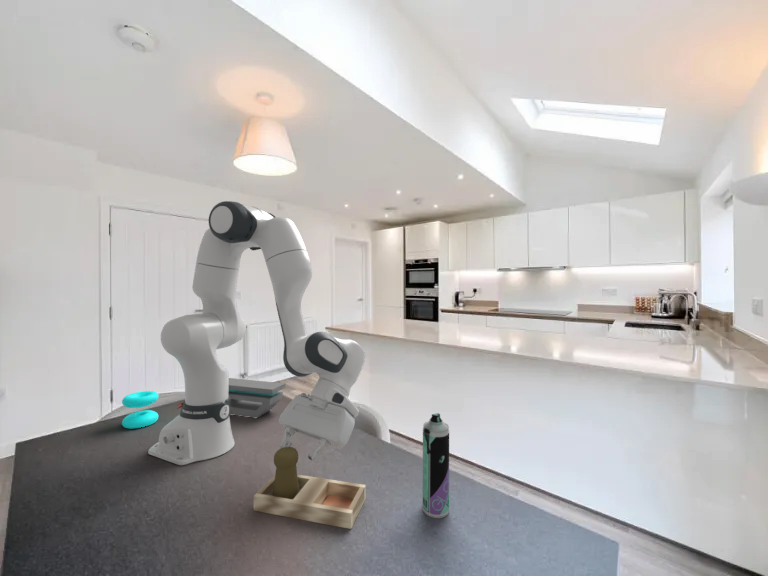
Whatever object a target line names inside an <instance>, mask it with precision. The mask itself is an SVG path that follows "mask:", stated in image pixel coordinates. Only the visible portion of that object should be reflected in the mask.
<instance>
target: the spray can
mask: <svg viewBox="0 0 768 576" xmlns="http://www.w3.org/2000/svg"><path fill="white" fill-rule="evenodd" d="M449 428H450V426H449V424H448V423H446V422H444V421H443V419H442V418H441V414H440V413H439V412H438V413H433V414H431V416H430V418H429V420H428V421H426V422H424V423H423V428H422V512H423V513H424V514H425V515H427V516H428V517H430V518H434V519H441V518H445V517H447V515H448V514H449V512H450V429H449Z"/></svg>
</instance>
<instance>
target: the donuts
mask: <svg viewBox="0 0 768 576" xmlns="http://www.w3.org/2000/svg"><path fill="white" fill-rule="evenodd" d="M159 398H160V397H159V393H158V392H157V391H153V390H142V391H137V392H133V393H130V394H127V395H126V396H124V397H123V398H122V400H121V404H122V405H123V406H124V407H125V408H128V409H129V408H130V409H137V408H144V407H147V406H150V405H153V404H154V403H156V402H157V401H158V399H159ZM158 419H159V414H158V412H156V411H155V410H150V409H147V410H146V409H145V410H138V411H134V412H132V413H130V414H127V416H125V417H123V419H122V422H121V425H122V426H123V428H125V429H130V430H131V429H141V427H142V428H146V427H149V426H151V425H153V424H154V423H156V422H157V421H158ZM145 426H146V427H145Z"/></svg>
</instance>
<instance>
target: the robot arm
mask: <svg viewBox="0 0 768 576" xmlns="http://www.w3.org/2000/svg"><path fill="white" fill-rule="evenodd" d="M208 227H209V228H208V229H207V230H205V231H204V234H203V236H202V239H201V241H200V244H199V248H198V253H197V256H196V262H195V269H194V274H193V279H192V280H193V281H192V292H193V293H194V294H195V296H197V297H198V298H199V299H200V300H201V302H202V312H201V313H194V314H192V313H191V314H186V315H182V316H179V317H176V318H174V319H171V320H169V321H167V322H166V323H165V324H164V326H163V327H162V329H161V333H160V342H161V346H162V347H163V349H164V350H165V352H166V353H167V354H168V355H170V356H172V357H173V358H175V359H176V360H177V361H178V363H179V365H180V367H181V369H182V373H183V377H184V397H185V398H184V399H185V400H184V401H183V402H180V403H178V404H176V406H177V407H176V409H177V410H178V409H180V412H179V414H178V415H176V416H175V417H174V419H172V420H171V421H170V422H168V423H167V424H165V425H164V427H162V428H161V430H160V432H159V436H158V442H156V443H155V444H153V445H152V446H151V447H149V449H148V452H147V454H148V455H150V456H153V457H156V458H159V459H161V460H164V461H166V462H170V463H173V464H175V465H177V466H185V465H188V464H192V463H195V462H199V461H205V460H209V459H214V458H216V457H219V456H221V455H224V454H225V453H227V452H229V451H231V450H232V449H233V447H234V446H235V443H236V442H235V440H234V436H233V431H232V425H231V419H230V415H229V413H230V396H229V378H230V377H229V375H230V373H229V370H228V368H227V367H226V366H224V365H223V364H221V363H220V362H219V360H218V357H217V352H216V351H217V350H219V349H220V350H221V349H225V348H228V347H231V346H232V345H234V344H236V343H238V342H240V341H241V340H242V339H244V337H245V334H246V332H247V324H246V321H245V318H244V317H243V316H242V315H241V314H240V312H239V309H238V306H237V294H236V293H237V287H238V285H237V284H238V280H239V279H238V278H239V271H240V267H241V266H240V265H241V258H242V255H243V253H244V252H245V251H246V250H248V249H250V250H251V251H257V250H261V252H262V255H263V257H264V262H265V264H266V268H267V270H268V275H269V279H270V281H271V286H272V289H273V290H272V291H273V294H274V300H275V305H276V311H277V314H278V320H279V323H280V329H281V332H282V337H283V353H282V354H283V355H282V357H283V358H282V359H283V364H284V367H285V369H286V370H287V371H288V372H289V373H290V374H292V376H296V377H298V378H299V377H300V378H303V377H307V376H310V375H312V374H313V373H315V374H317V375H318V376H319V378H318V379H317V381H316V383H315V385H314V386H313V388H312V390H311V392H310V393H309V394H307V393H305V392H301V393H300V394H298V395H296V396H294V398H292V400H290V401H289V403H288V404H287V406H286V407H285V408H284V409H283V411H282V412H281V414H280V416H279V418H278V423H279V424H280V425H281V426H282V427H284V428H285V429H284V431H283V437H282V439H283V440H282V441H281V442H280V445H279V447H280V449H281V448H284V447H291V446H292V442H291V440H292V439H291V438H292V436H294V435H295V433H299V434H302V435H304V436H306V437H310V438H313V439H314V440H318V441H319V446H317V448H315V450H313V449H311V451H310V453H309V455H308V459H309V460H310V461H312V462H314V463H318V461H319V459H320V457H321V456H322V455H323V454H324V453H325V452H326V451H328V450H329V449H330V447H331V445H333V446H335V447H338V448H343V447H344V446H346V444H347V443H348V442H349V439H350V437H351V435H352V433H353V430H354V427H355V424H356V422H355V421H356V420H355V419H356V418H357V417H358V416H359V413H360V410H359V409H358V408H357V406H356V405H355V404H354V402H353V401H351V400H350V398H349V396H350V393H351V389H352V387H353V386H354V385H355V384H356V382H357V381H358V379H359V376H360V375H361V372H362V370H363V367H364V365H365V360H366V351H365V350H364V348H363V347H362V345H360V344H359V343H358V342H357V341H355V340H353V339H350V338H349V339H348V338H347V339H343V338H342V339H341V338H338V337H335V336H333V335H332V334H330V333H328V332H326V331H317V332H314V333H313V332H312V333H311V334H309V335H308V333H307V330H306V326H305V321H304V316H303V312H302V299H303V296H304V294H305V291H306V290H307V288H308V285H309V284H310V282H311V280H312V276H313V271H312V270H313V269H312V263H311V259H310V255H309V252H308V250H307V247H306V244H305V241H304V240H303V237H302V235H301V233H300V231H299V229H298V228H297V226H296V224H295V223H294V221H293V220H291V219H290V218H289V217H288V218H287V217H284V216H275V215H274V214H273V213H270V212H266V211H265V210H263V209H261V208H258V207H256V206H250V205H247V204H241V203H240V202H237V201H232V200H231V201H230V200H229V201H227V200H225V201H221V202H218V203H216V204H215V205H214V206H213V207H212V209H211V210H210V212H209V215H208Z"/></svg>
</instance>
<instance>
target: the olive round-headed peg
mask: <svg viewBox="0 0 768 576" xmlns="http://www.w3.org/2000/svg"><path fill="white" fill-rule="evenodd" d="M298 462H299V452H298V450H297V449H296V447H291V446H290V447H284V448H281V447H280V448H279V449H278V450H276V451H275V453H274V455H273V463H274V466H275V468H276V469H275V474H274V476H275V481H274V489H273V495H272V496H276V497H281V498H287V499H294V498H295V496H296V495H297V494H298V493H299V492H300V491H299V484H298V477H297V474H298V471H297V463H298Z"/></svg>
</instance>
